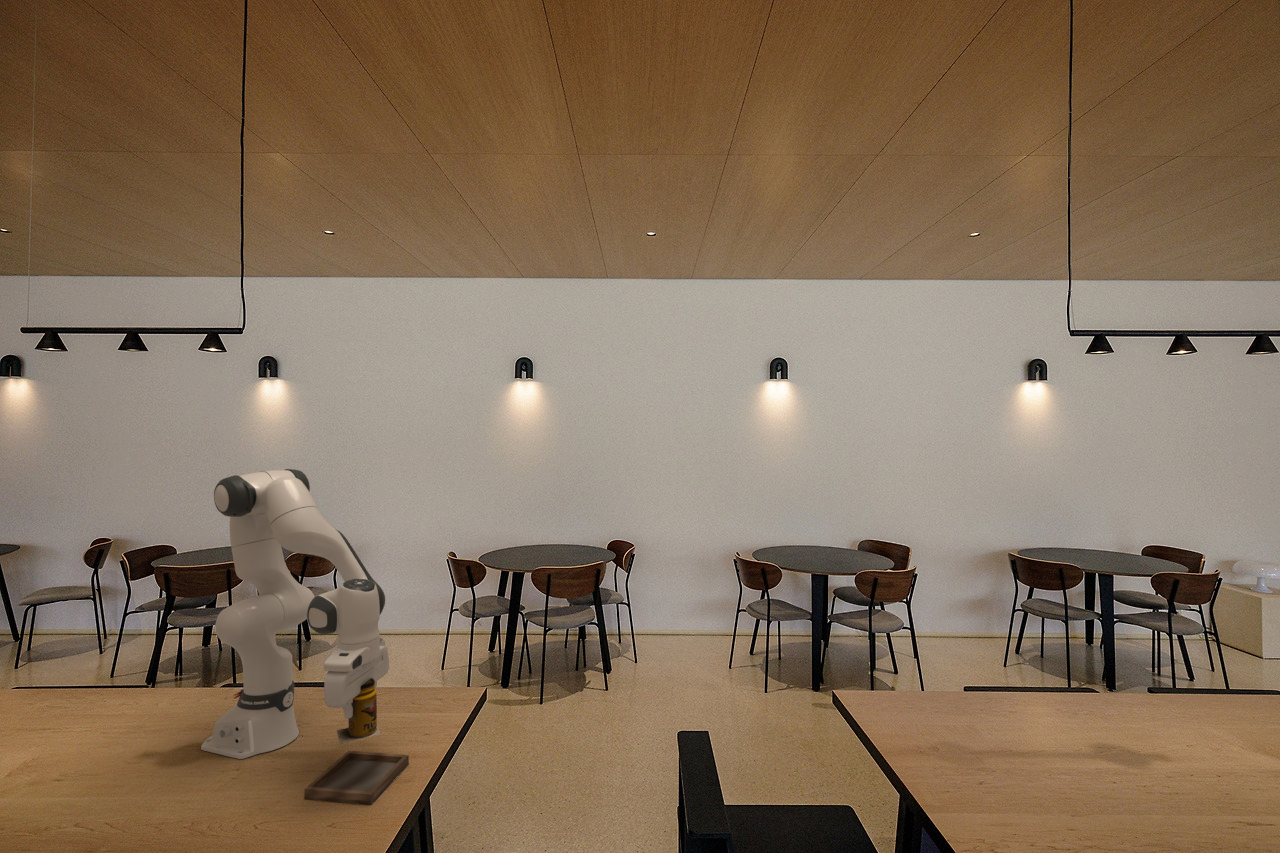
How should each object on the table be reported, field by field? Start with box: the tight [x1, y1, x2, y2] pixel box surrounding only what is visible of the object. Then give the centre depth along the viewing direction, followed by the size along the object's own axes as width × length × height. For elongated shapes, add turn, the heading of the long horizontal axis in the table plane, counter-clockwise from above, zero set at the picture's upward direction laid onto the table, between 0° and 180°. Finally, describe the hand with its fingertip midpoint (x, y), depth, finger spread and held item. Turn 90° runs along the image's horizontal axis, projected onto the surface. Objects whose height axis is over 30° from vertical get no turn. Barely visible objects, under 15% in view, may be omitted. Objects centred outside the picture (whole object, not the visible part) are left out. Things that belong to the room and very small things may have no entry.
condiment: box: [336, 678, 381, 745], centre depth 139 cm, size 7×8×12 cm
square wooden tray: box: [303, 750, 410, 806], centre depth 139 cm, size 16×16×2 cm
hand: (359, 709), depth 139 cm, fingers closed on condiment, 6 cm apart
